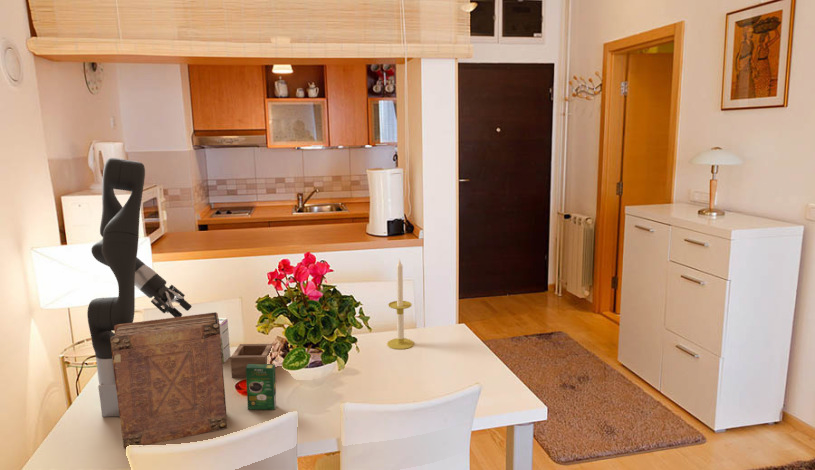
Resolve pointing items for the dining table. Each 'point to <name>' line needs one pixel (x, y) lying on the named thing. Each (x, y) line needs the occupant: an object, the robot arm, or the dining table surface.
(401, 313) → the candle
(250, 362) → the walnut socket
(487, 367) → the dining table surface
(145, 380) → the book
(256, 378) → the coffee box
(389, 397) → the dining table surface
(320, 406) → the dining table surface
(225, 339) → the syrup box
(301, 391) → the dining table surface
